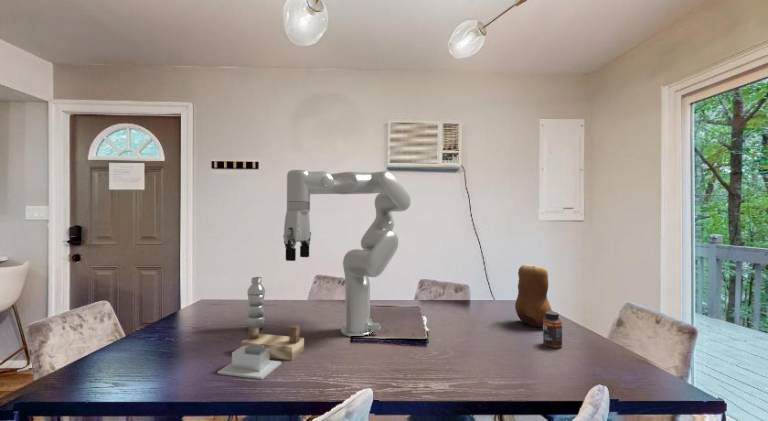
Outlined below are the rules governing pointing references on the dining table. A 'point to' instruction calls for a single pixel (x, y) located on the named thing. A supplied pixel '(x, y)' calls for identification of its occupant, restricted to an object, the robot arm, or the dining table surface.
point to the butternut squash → (532, 294)
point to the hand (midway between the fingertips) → (297, 258)
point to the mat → (247, 373)
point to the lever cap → (251, 358)
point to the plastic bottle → (256, 304)
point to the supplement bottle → (552, 330)
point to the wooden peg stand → (278, 342)
